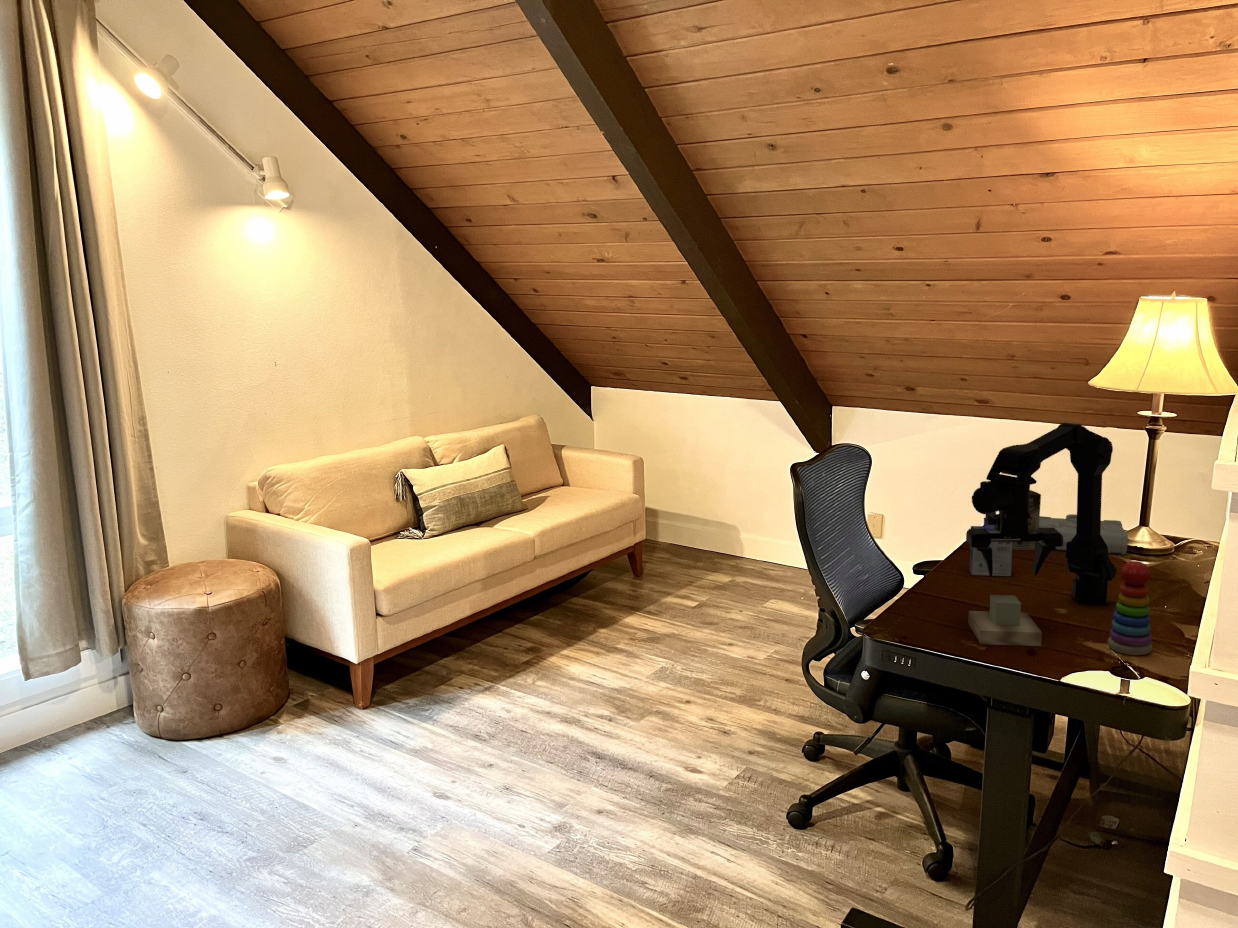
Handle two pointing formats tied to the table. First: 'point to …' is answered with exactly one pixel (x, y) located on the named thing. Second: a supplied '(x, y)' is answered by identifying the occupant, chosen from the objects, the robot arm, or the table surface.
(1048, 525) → the book
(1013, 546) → the coffee box
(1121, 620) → the stacking toy
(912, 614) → the table surface
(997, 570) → the ink cartridge box
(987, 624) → the birch base block
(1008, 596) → the sage cube
